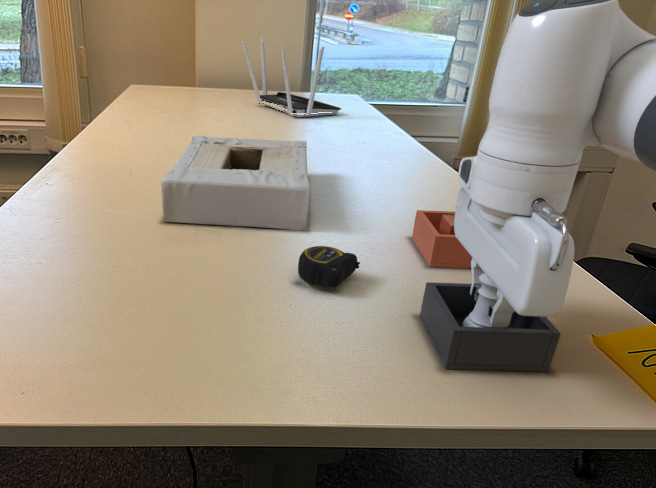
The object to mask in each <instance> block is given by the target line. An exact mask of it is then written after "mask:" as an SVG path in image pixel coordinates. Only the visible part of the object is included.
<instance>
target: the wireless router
mask: <svg viewBox="0 0 656 488" xmlns="http://www.w3.org/2000/svg"><path fill="white" fill-rule="evenodd" d="M259 43H260V58H261V59H260V62H261V82H262V94H260V92H259V87H258V85H257V81H256V76H255V74H254V73H255V72H254V70H253V69H254V68H253V66H252V61H251V58H250V54H249V51H248V47H247V44H246V43H245V42H244V41H243V40H241V44H242V48H243V52H244V55H245V60H246V63H247V67H248V71H249V75H250V79H251V82H252V83H251V84H252V86H253V90H254V94H255V98H256V102H257V101H259V102H261V101H265V102H269V103H274V104H277V105H279V106H280V107H282V108H285V109H288V111H289V112H288V111H285V110H282V109H279V108H276V107H273V106H270V105H267V104H265V105H267V106H270V107H272V108H275V109H278V110H280V111H279V112H281V111H283V112H282V113H284V112H286V113H285V114H287V113H288V114H287V115H289V116H291V115H290V114H289V113H306V114H307V115H306V114H304V115H297V114H293V115H292V116H293V117H295V118H307V117H318V116H329V115H330V116H332V115H337V113H338V112H339V111H341V110H342V108H341V107H339V106H337V105H336V106H335V105H332V104H328V103H325V102H322V101H318V100H315V97H316V92H317V86H318V81H319V76H320V71H321V65H322V62H323V61H322V60H323V55H324V50H325V46H321V48H320V49H319V51H318V55H317V60H316V66H315V69H314V74H313V80H312V84H311V89H310V94H309V98H307V97H305V96H302V95H301V96H300V95H295V94H292V93H291V88H290V80H289V72H288V71H289V70H288V66H287V65H288V64H287V56H286V52H285V50H284V49H283V48H282V47H281V48H280V52H281V61H282V69H283V77H284V84H285V92H281V91H278V92H277V93H276V94H268V83H267V67H266V54H265V53H266V52H265V39H264V38H263V36H259ZM263 104H264V103H262V105H263ZM272 108H271V109H272ZM275 109H274V110H275ZM278 110H277V111H278ZM318 112H332V113H318ZM311 113H318V114H311Z"/></svg>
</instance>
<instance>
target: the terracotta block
mask: <svg viewBox="0 0 656 488" xmlns="http://www.w3.org/2000/svg"><path fill="white" fill-rule="evenodd" d="M454 217H455V215H442V218H441V223H440V229H439V234H443V235H455V232H454Z"/></svg>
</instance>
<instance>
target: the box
mask: <svg viewBox="0 0 656 488" xmlns="http://www.w3.org/2000/svg"><path fill="white" fill-rule="evenodd" d="M307 145H308V144H307V141H306V140H278V139H277V140H273V139H257V138H256V139H255V138H237V137H219V136H206V135H193V136H192V137H191V141H190V142H189V144H188V145H187V147H186V148H185V150H184V152H183V153H182V154H181V156H180V157H179V158H178V160H177V162H176V163H175V164H174V166H173V167H172V169H171V170H170V171H168V172H167V173H166V174H165V175H164V176H163V177H162V180H161V181H160V188H161V189H160V190H161V192H160V193H161V205H162V213H163V220H164V222H167V223H180V224H181V223H182V224H183V223H184V224H199V225H213V226H214V225H216V226H231V227H248V228H262V229H277V230H294V231H295V230H296V231H306V230H307V228H308V222H309V214H310V213H309V211H310V200H311V184H310V180H309V178H308V157H307V156H308V155H307V154H308V153H307Z"/></svg>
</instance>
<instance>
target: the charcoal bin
mask: <svg viewBox="0 0 656 488" xmlns="http://www.w3.org/2000/svg"><path fill="white" fill-rule="evenodd" d="M471 285H472V283H462V282H461V283H460V282H459V283H457V282H431V281H427V282H426V283H425V288H424V292H423V298H422V303H421V307H420V313H419V319H420V321H421V322H422V325H423V327H424V330H425V331H426V333H427V335H428V337H429V339H430V341H431V343H432V345H433V347H434V349H435V351H436V353H437V355H438V357H439V359H440V361H441V363H442V365H443V367H444V369H445V370H470V371H472V370H473V371H501V372H502V371H503V372H509V371H510V372H536V373H549V372H550V369H551V365H552V362H553V360H554V357H555V354H556V350H557V347H558V345H559V341H560V339H561V336H562V333H561V332H560V331H559V329H558V328H557V327H556V326H555V325H554V324H553V323H552V322H551V320H550V319H549V317H535V316H522V315H519V314H518V313H517V312H516V311H515V312H514V313H512V316H511V320H510V323H509V325H508V326H507V327H505V328H485V327H463V321H464V320H465V318H466V317H468V316H469V314H470V313H471V312H472V311H473V310H474V308H475V305H476V303H477V302H476V301H475V300H474V299H473V297H472V296H471V295H470V289H471Z"/></svg>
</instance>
